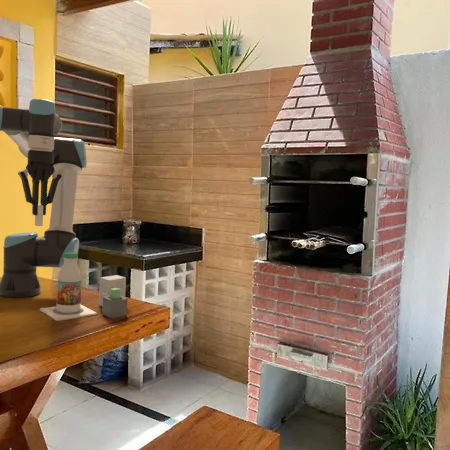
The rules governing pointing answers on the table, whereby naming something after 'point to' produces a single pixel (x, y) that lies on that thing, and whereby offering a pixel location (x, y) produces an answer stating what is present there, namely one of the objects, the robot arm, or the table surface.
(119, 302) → the button box
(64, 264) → the milk bottle
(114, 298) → the button
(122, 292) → the small box
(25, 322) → the table surface
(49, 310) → the white square plate
